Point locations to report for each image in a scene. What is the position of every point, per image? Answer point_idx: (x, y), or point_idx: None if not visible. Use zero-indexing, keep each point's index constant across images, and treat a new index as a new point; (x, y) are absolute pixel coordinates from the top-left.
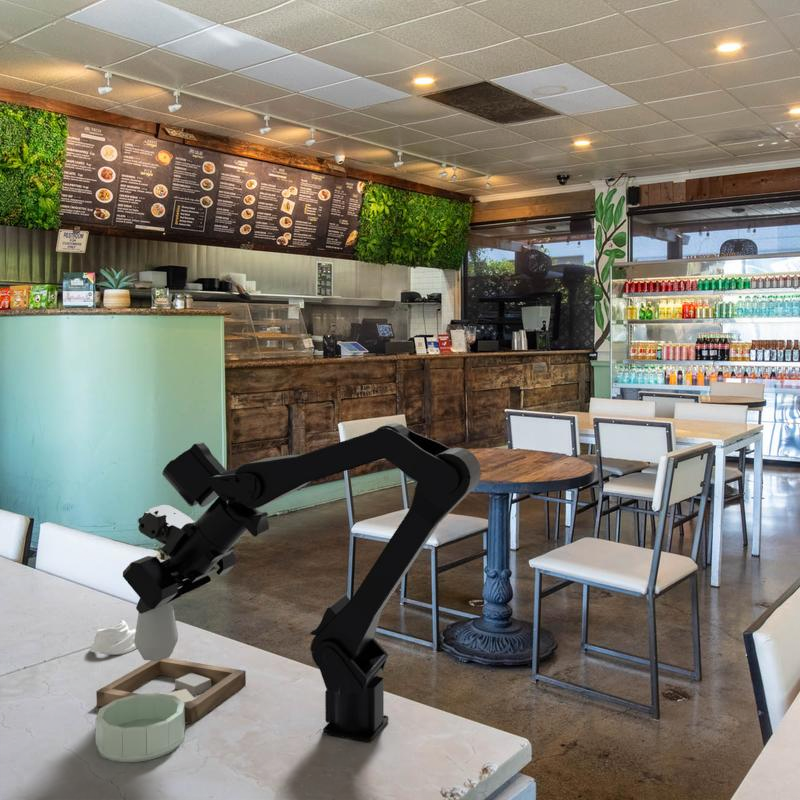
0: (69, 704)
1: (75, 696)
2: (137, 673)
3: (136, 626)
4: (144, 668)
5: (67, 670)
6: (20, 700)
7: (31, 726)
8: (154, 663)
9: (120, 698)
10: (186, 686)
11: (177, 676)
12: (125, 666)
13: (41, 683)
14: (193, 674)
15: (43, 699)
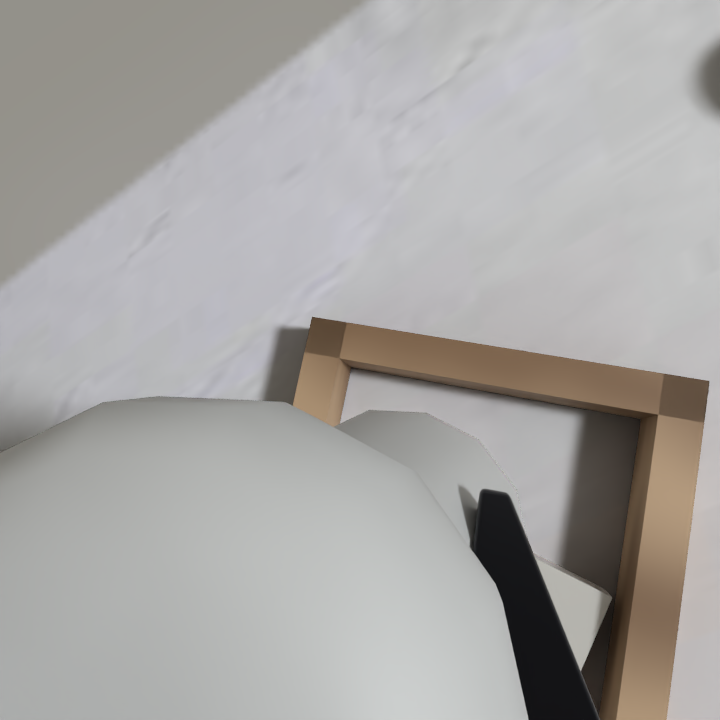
0: (324, 236)
1: (384, 217)
2: (498, 384)
3: (356, 417)
4: (554, 388)
5: (591, 51)
6: (329, 73)
7: (176, 221)
8: (622, 404)
9: None
10: None
11: (629, 509)
12: (688, 235)
13: (462, 45)
14: (595, 613)
15: (346, 134)
